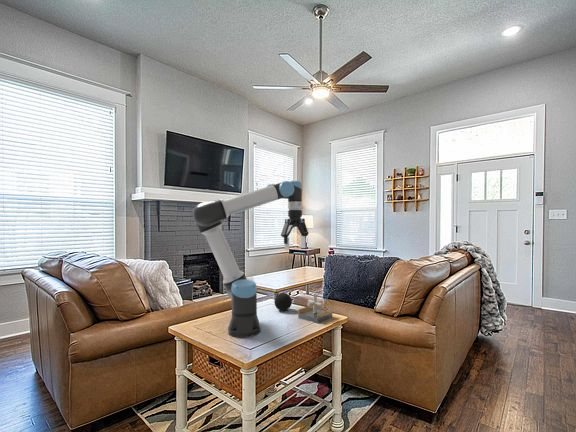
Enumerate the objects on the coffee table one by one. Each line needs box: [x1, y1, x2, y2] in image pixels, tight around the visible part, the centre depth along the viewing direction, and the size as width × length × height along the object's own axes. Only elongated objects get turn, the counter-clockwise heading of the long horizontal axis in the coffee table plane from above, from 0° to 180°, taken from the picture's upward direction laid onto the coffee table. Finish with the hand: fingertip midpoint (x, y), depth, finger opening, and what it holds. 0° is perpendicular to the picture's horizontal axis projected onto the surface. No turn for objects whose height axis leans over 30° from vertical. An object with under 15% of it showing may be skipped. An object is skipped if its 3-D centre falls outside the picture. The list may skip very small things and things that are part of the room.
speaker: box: [273, 292, 293, 312], centre depth 182 cm, size 10×10×10 cm
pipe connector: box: [306, 292, 324, 313], centre depth 169 cm, size 10×10×10 cm
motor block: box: [297, 305, 333, 324], centre depth 169 cm, size 13×13×4 cm
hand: (295, 248), depth 171 cm, fingers open, 13 cm apart
